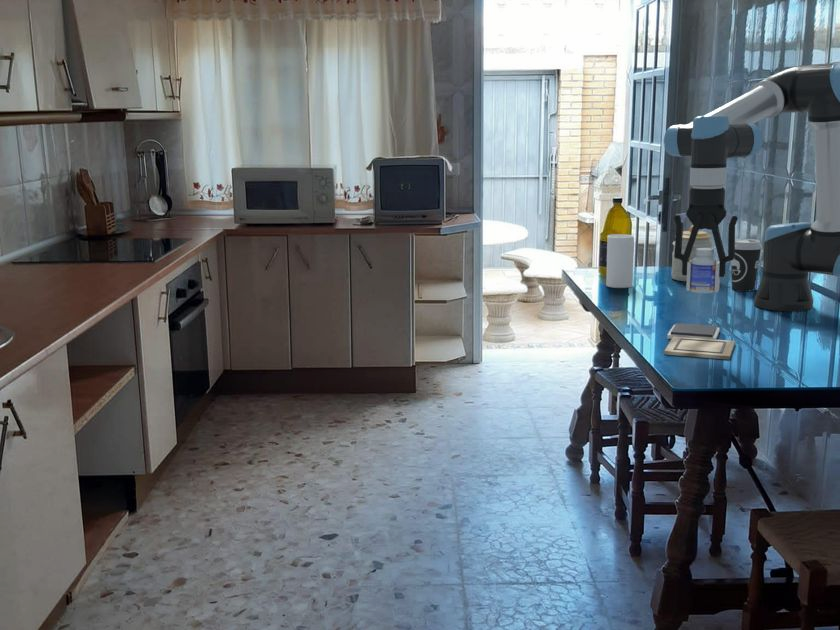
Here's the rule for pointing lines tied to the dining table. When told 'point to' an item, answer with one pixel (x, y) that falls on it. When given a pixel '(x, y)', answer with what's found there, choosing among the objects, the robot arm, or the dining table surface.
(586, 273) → the dining table surface
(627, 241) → the cup
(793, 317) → the dining table surface
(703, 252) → the pill bottle
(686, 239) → the jar
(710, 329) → the ink pad
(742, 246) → the coffee cup
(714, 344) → the marked board
